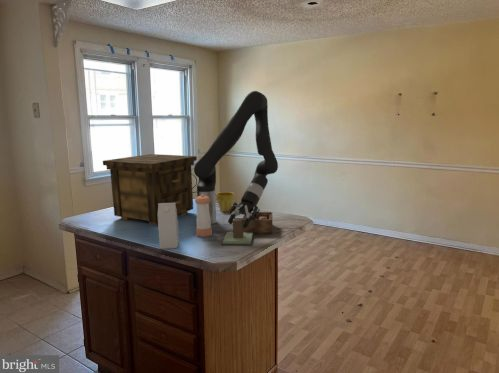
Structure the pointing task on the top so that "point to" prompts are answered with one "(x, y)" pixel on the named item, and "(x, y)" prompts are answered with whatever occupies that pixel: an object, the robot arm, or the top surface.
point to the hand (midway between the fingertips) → (236, 225)
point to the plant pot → (225, 200)
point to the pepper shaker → (203, 216)
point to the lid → (238, 234)
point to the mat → (239, 244)
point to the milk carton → (167, 225)
